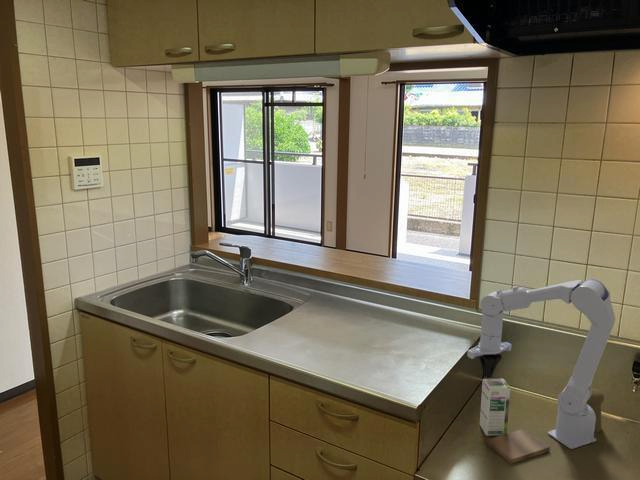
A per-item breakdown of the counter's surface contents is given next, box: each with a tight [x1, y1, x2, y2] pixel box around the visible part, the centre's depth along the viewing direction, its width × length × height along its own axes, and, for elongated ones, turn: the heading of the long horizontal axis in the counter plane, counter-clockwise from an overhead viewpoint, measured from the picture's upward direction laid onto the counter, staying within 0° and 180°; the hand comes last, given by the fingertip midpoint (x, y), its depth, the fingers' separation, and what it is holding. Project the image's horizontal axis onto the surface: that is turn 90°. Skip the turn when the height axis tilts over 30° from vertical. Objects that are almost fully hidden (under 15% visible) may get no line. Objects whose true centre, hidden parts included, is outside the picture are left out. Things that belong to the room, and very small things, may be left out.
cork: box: [586, 387, 605, 433], centre depth 146 cm, size 6×6×11 cm
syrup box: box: [479, 377, 511, 437], centre depth 143 cm, size 6×6×14 cm
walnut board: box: [485, 428, 551, 465], centre depth 137 cm, size 13×9×1 cm
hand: (487, 376), depth 154 cm, fingers closed
